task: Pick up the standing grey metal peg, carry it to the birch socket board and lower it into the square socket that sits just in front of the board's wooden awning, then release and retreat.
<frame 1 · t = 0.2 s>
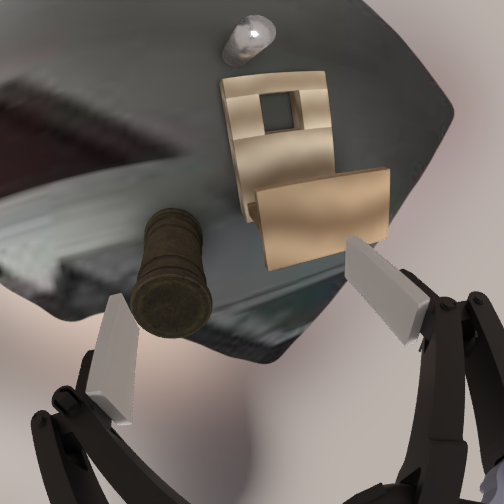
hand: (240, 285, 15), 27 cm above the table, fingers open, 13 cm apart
peg: (235, 54, 32), on the table
container: (173, 235, 42), on the table
socket station: (277, 141, 39), on the table
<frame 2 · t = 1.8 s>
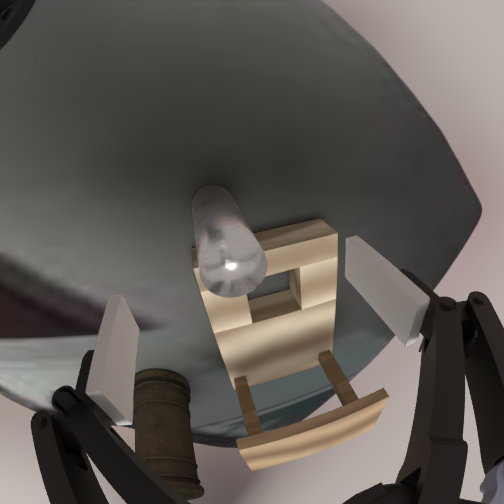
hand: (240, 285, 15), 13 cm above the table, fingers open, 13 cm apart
peg: (212, 204, 27), on the table
container: (160, 385, 37), on the table
socket station: (268, 305, 34), on the table
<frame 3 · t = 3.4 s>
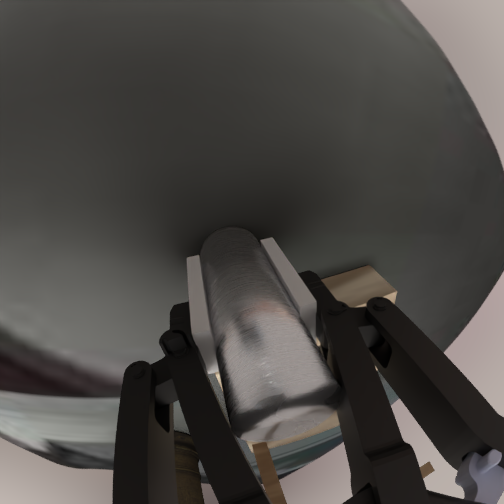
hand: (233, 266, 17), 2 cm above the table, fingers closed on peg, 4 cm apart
peg: (230, 254, 19), on the table, touching gripper
container: (165, 441, 29), on the table
socket station: (296, 366, 26), on the table
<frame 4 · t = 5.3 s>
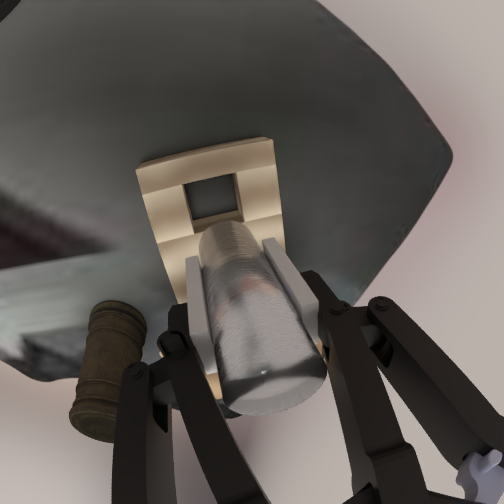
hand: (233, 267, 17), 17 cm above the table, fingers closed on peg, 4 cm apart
peg: (227, 247, 20), point 14 cm above the table, touching gripper
container: (118, 323, 38), on the table
socket station: (218, 227, 34), on the table
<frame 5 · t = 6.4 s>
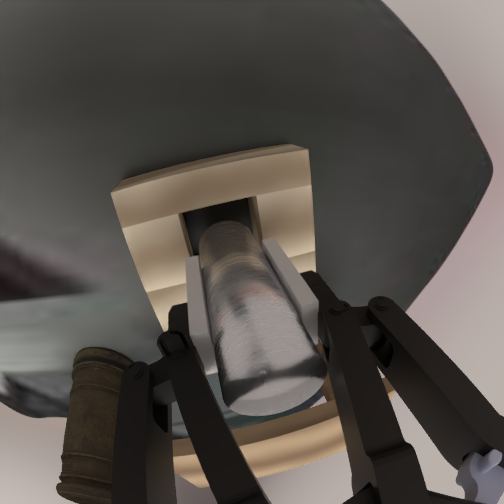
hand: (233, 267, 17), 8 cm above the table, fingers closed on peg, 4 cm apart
peg: (227, 247, 20), point 5 cm above the table, touching gripper
container: (107, 370, 29), on the table
socket station: (227, 264, 26), on the table
when the fingers open (5 cm above the table, at t = 7.3 s): peg stays where it is, resting in socket station.
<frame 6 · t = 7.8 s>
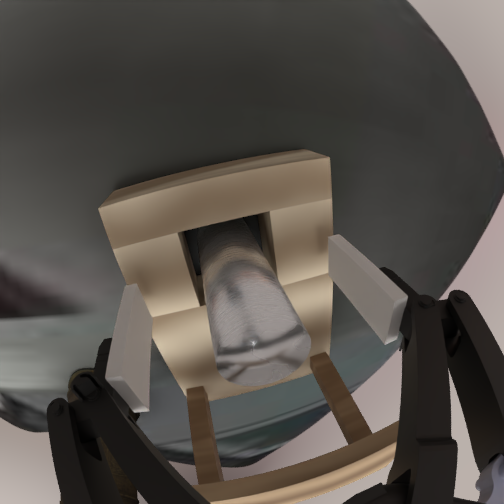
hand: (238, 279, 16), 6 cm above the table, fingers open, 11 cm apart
peg: (223, 237, 21), resting in socket station
container: (105, 390, 27), on the table
socket station: (234, 284, 23), on the table
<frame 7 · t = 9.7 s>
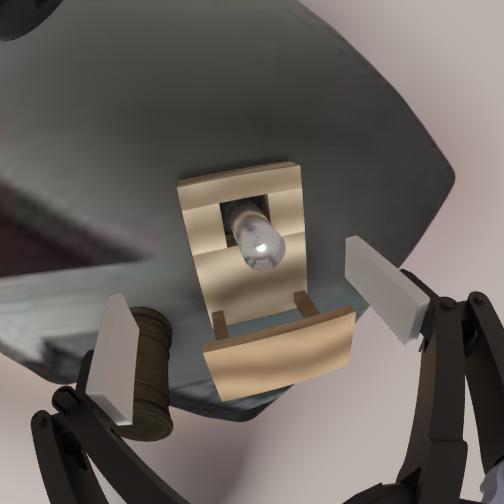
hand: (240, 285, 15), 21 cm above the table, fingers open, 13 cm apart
peg: (240, 211, 36), resting in socket station
container: (144, 328, 41), on the table
socket station: (245, 242, 38), on the table
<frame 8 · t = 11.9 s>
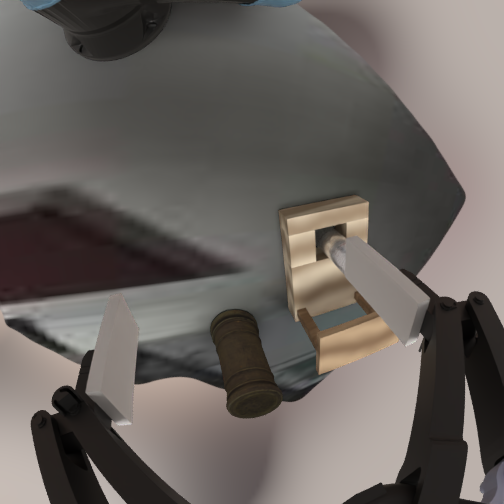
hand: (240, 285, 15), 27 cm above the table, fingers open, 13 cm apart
peg: (320, 232, 47), resting in socket station
container: (233, 326, 52), on the table
socket station: (321, 255, 49), on the table
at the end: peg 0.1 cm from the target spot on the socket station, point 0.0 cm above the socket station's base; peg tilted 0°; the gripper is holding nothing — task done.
